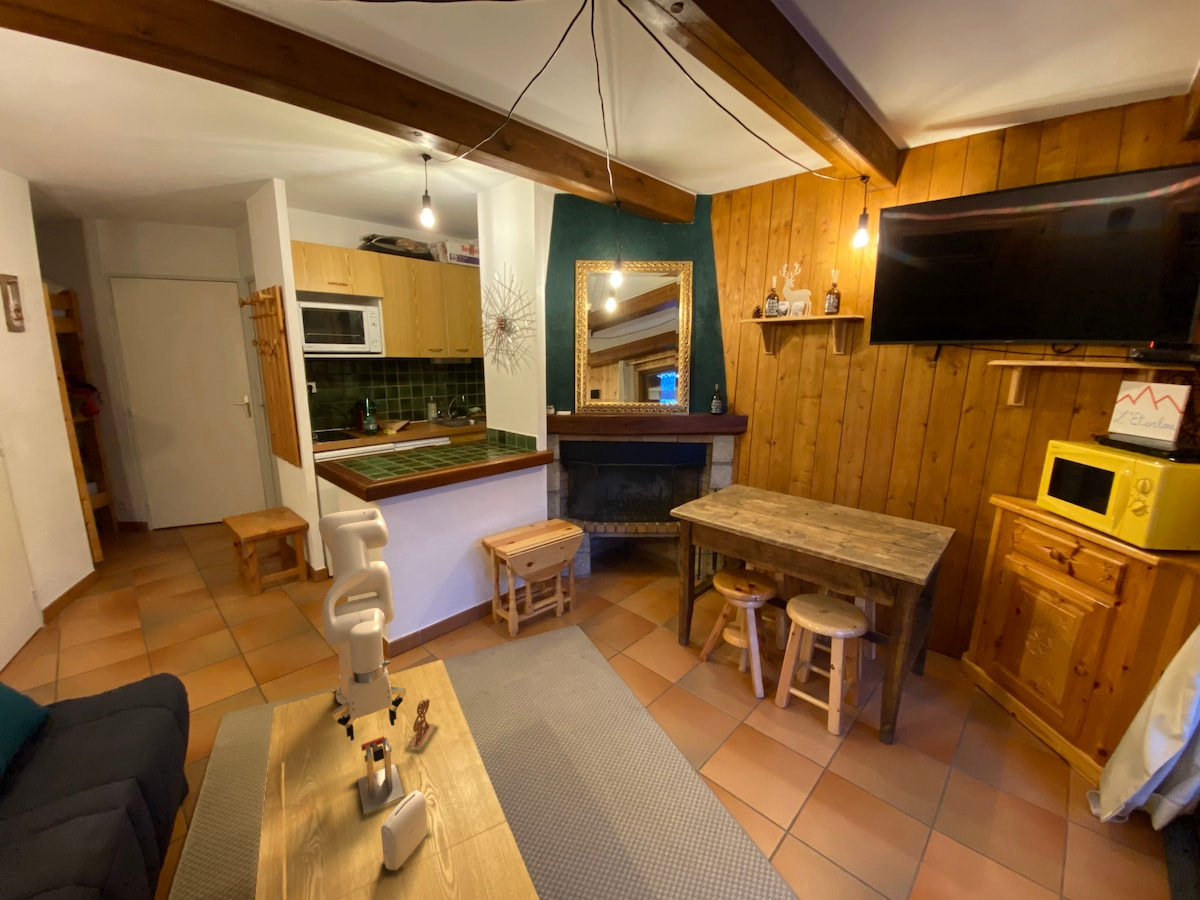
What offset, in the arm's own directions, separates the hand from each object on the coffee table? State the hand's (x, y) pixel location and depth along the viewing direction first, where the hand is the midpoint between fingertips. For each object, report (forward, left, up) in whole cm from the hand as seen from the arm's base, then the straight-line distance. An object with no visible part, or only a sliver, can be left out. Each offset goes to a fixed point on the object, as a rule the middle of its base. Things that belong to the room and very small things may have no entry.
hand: (372, 729), depth 125 cm
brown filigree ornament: (+3, +13, -12) cm, 18 cm away
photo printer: (+26, -10, -12) cm, 30 cm away
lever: (+4, -2, -3) cm, 6 cm away
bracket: (+8, -4, -11) cm, 14 cm away
